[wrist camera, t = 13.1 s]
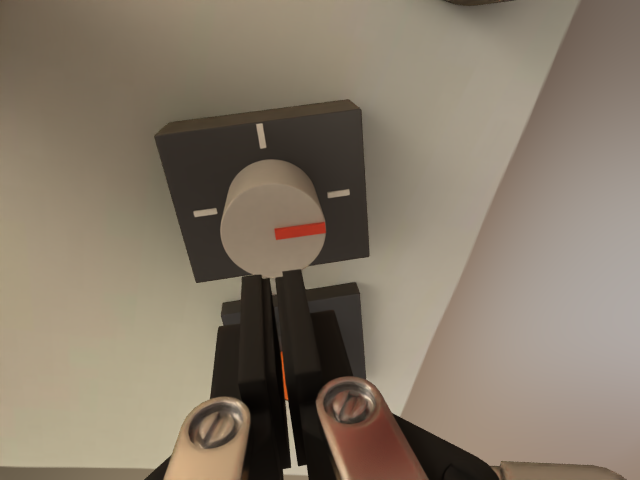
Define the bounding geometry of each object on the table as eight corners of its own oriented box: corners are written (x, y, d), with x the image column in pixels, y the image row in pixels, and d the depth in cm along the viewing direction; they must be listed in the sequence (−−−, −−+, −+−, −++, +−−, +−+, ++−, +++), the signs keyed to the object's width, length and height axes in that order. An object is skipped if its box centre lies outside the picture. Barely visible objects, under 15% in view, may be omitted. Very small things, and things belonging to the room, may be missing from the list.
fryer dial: (236, 248, 27) (231, 288, 23) (218, 165, 25) (209, 192, 20) (321, 236, 27) (331, 273, 23) (312, 153, 25) (321, 178, 21)
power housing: (245, 391, 38) (243, 423, 35) (222, 302, 34) (218, 330, 30) (362, 371, 39) (371, 401, 36) (355, 282, 34) (364, 306, 31)
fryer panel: (203, 255, 32) (195, 284, 28) (168, 122, 27) (152, 136, 23) (358, 232, 32) (370, 258, 29) (348, 99, 28) (362, 108, 24)
